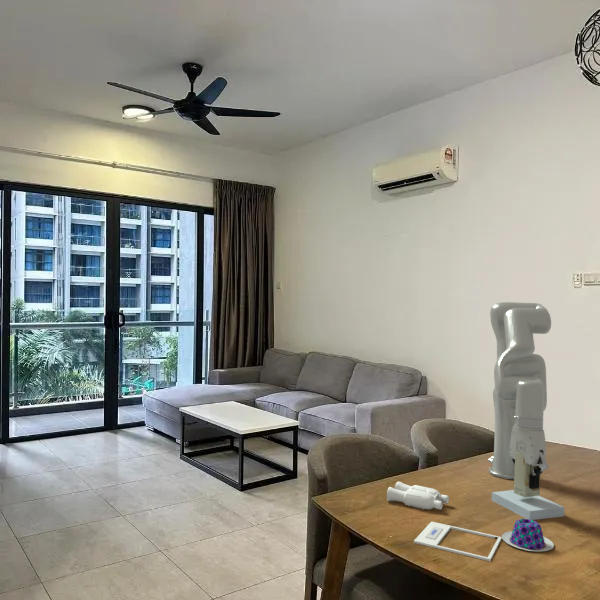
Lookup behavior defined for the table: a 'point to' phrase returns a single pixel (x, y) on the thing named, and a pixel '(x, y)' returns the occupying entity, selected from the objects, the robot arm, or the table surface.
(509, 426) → the robot arm
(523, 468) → the skincare box
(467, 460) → the table surface
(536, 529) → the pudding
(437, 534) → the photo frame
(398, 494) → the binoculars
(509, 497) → the pale blue flat board
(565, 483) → the table surface
